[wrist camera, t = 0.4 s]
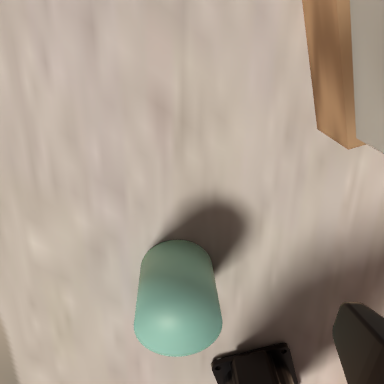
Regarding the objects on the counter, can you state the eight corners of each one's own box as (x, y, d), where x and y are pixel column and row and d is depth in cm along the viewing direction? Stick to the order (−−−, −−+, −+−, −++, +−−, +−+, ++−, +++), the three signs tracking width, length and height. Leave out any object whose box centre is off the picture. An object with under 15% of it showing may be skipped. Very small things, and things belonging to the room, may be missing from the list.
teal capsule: (219, 286, 24) (231, 344, 20) (154, 303, 25) (151, 364, 20) (201, 230, 22) (209, 282, 18) (129, 251, 22) (120, 306, 18)
